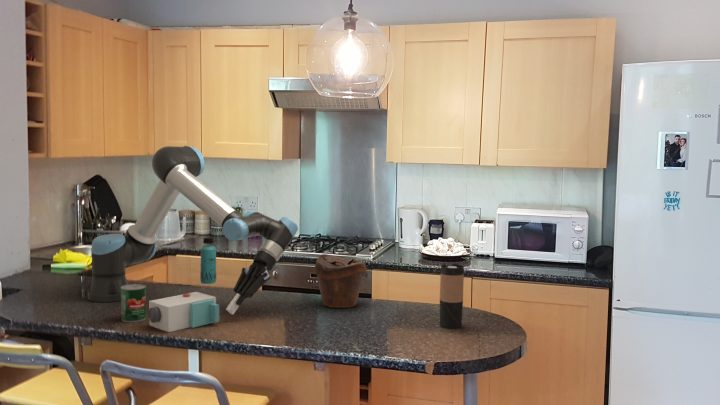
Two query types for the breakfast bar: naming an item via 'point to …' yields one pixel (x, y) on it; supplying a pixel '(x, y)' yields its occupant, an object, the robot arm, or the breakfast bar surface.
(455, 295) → the travel mug
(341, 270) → the brown tapered cylinder
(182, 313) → the block
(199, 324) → the door
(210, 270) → the beverage bottle
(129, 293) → the canned tomato
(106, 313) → the breakfast bar surface
